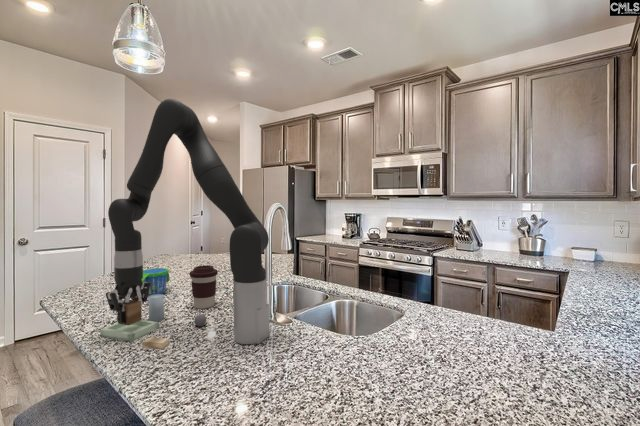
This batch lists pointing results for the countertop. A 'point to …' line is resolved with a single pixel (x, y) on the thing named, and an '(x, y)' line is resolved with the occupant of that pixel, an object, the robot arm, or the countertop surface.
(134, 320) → the walnut block
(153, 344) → the beech domino
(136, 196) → the robot arm
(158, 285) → the snack cup
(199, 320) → the rubber ball
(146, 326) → the sage tray
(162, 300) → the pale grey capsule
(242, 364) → the countertop surface
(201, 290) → the coffee cup
